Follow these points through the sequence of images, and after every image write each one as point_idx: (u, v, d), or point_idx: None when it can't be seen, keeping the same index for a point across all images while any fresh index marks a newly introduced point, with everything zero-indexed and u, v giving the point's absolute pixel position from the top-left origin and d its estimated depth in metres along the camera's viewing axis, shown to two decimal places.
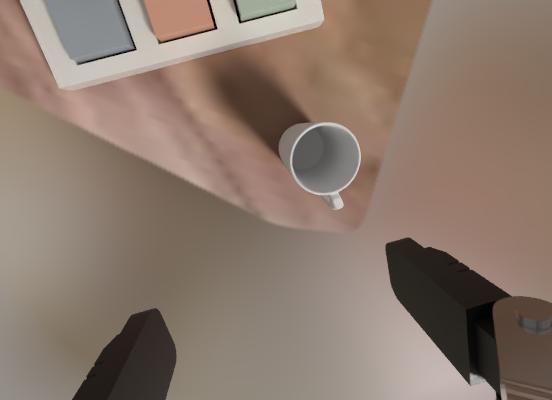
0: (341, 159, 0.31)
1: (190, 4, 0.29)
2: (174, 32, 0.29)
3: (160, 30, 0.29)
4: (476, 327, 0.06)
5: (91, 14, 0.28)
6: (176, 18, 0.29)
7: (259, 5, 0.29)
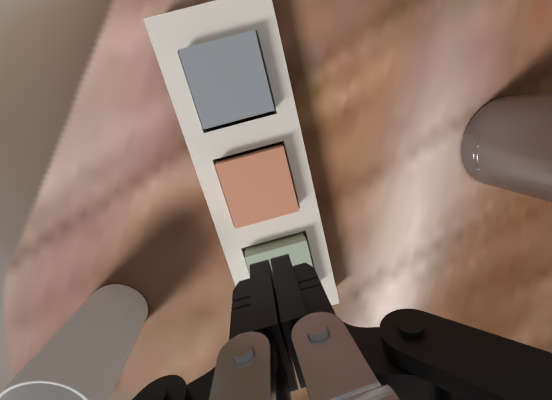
0: (78, 394, 0.24)
1: (252, 205, 0.25)
2: (222, 186, 0.25)
3: (222, 170, 0.24)
4: None
5: (234, 89, 0.22)
6: (236, 189, 0.25)
7: None
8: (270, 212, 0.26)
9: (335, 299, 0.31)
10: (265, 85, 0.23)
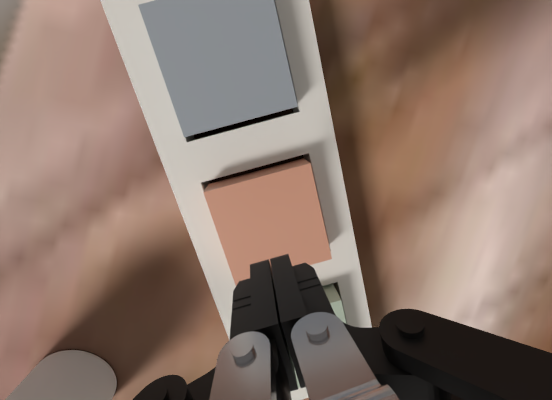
0: None
1: (260, 252, 0.17)
2: (215, 223, 0.16)
3: (215, 201, 0.15)
4: None
5: (232, 72, 0.14)
6: (237, 229, 0.16)
7: None
8: None
9: None
10: (283, 65, 0.14)
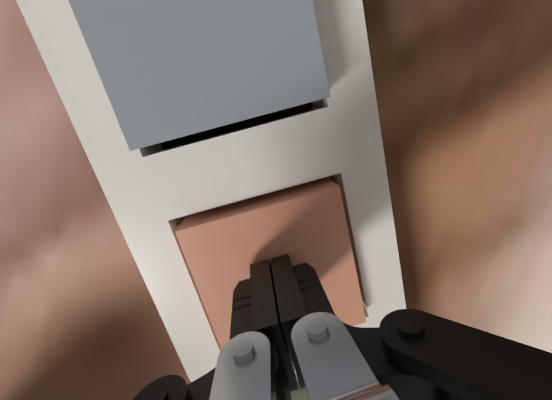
0: None
1: None
2: None
3: (193, 244, 0.10)
4: None
5: (214, 32, 0.08)
6: (228, 284, 0.11)
7: None
8: None
9: None
10: (307, 22, 0.08)
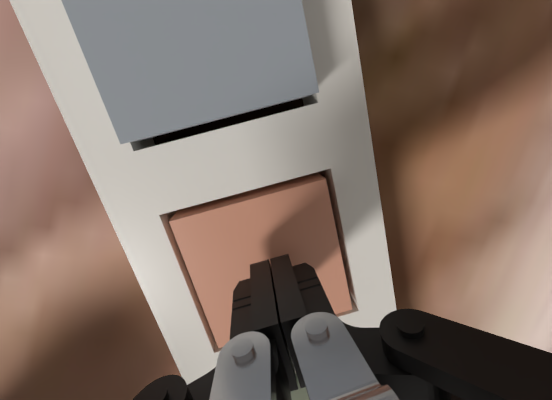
0: None
1: None
2: None
3: (187, 233, 0.11)
4: None
5: (204, 27, 0.08)
6: (220, 272, 0.11)
7: None
8: None
9: None
10: (296, 18, 0.08)
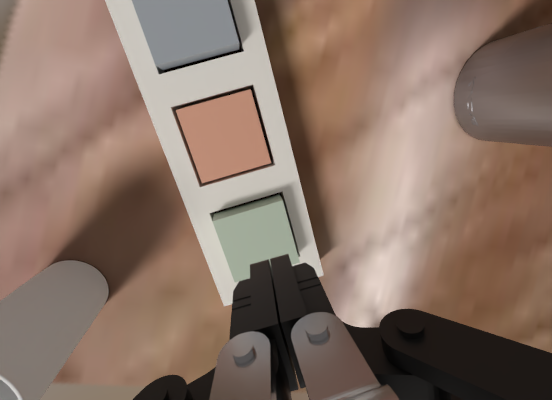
0: None
1: (218, 157, 0.23)
2: (184, 134, 0.22)
3: (184, 116, 0.22)
4: None
5: (189, 15, 0.19)
6: (201, 138, 0.23)
7: (225, 242, 0.24)
8: (239, 164, 0.23)
9: (319, 271, 0.27)
10: (226, 11, 0.19)
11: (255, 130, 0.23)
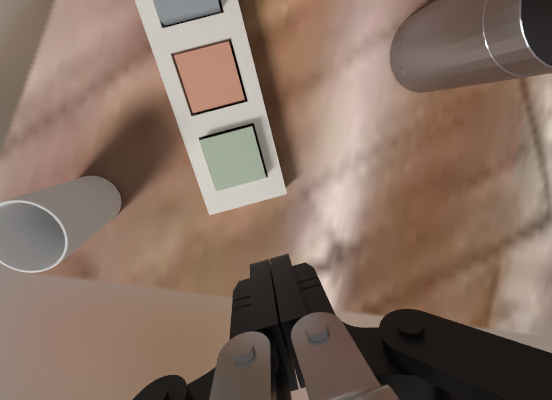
0: (57, 247, 0.29)
1: (205, 93, 0.31)
2: (180, 74, 0.31)
3: (180, 60, 0.30)
4: None
5: None
6: (192, 78, 0.31)
7: (209, 158, 0.32)
8: (220, 99, 0.32)
9: (283, 190, 0.35)
10: None
11: (232, 73, 0.31)
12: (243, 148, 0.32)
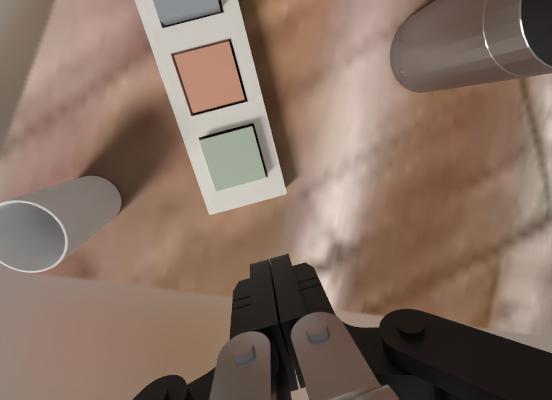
0: (57, 247, 0.29)
1: (205, 93, 0.31)
2: (180, 74, 0.31)
3: (180, 60, 0.30)
4: None
5: None
6: (192, 78, 0.31)
7: (209, 158, 0.32)
8: (220, 99, 0.32)
9: (283, 190, 0.35)
10: None
11: (232, 73, 0.31)
12: (243, 148, 0.32)
